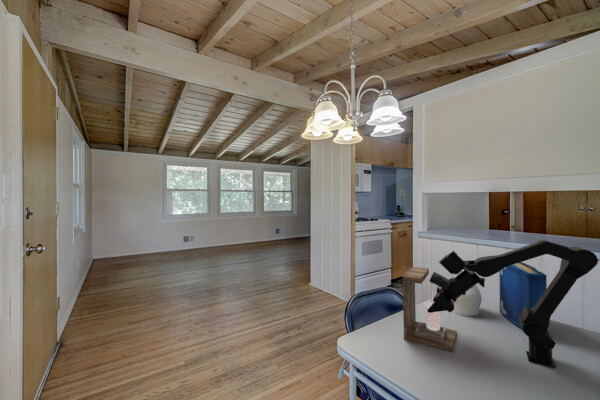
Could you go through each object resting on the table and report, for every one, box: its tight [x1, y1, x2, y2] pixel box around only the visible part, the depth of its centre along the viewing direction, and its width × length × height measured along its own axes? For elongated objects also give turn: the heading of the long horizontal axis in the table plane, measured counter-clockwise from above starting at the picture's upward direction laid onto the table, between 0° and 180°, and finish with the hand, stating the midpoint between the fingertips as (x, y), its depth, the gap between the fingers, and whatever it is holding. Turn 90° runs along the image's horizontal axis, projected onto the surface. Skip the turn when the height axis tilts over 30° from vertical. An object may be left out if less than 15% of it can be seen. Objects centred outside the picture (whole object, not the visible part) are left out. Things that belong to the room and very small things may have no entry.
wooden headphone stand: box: [402, 266, 457, 353], centre depth 103 cm, size 16×16×24 cm
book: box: [498, 262, 548, 330], centre depth 111 cm, size 22×7×25 cm, turn 168°
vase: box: [451, 269, 483, 317], centre depth 126 cm, size 14×14×20 cm
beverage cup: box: [423, 290, 442, 331], centre depth 103 cm, size 6×6×14 cm
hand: (428, 308), depth 104 cm, fingers closed on beverage cup, 6 cm apart
